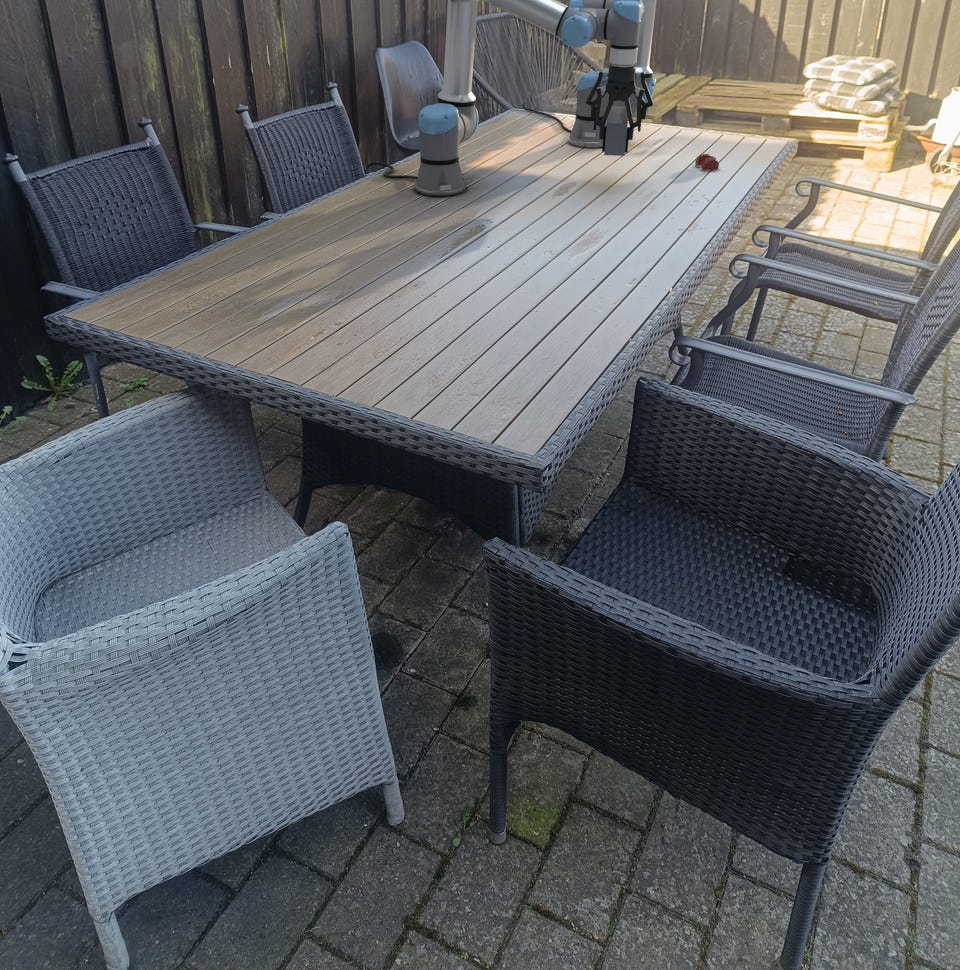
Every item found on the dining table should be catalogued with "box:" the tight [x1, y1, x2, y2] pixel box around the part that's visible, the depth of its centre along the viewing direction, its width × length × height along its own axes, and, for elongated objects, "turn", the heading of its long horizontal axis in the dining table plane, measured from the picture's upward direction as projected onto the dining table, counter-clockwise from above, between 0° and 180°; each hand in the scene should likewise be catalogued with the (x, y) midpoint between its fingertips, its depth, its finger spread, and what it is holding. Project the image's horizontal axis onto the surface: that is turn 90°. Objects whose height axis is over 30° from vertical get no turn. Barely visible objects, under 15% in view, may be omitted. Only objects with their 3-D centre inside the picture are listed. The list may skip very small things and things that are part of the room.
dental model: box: [694, 153, 720, 171], centre depth 277 cm, size 6×4×8 cm
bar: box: [603, 106, 629, 157], centre depth 253 cm, size 23×6×9 cm, turn 171°
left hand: (614, 150), depth 248 cm, fingers closed on bar, 6 cm apart
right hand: (616, 130), depth 261 cm, fingers open, 13 cm apart
